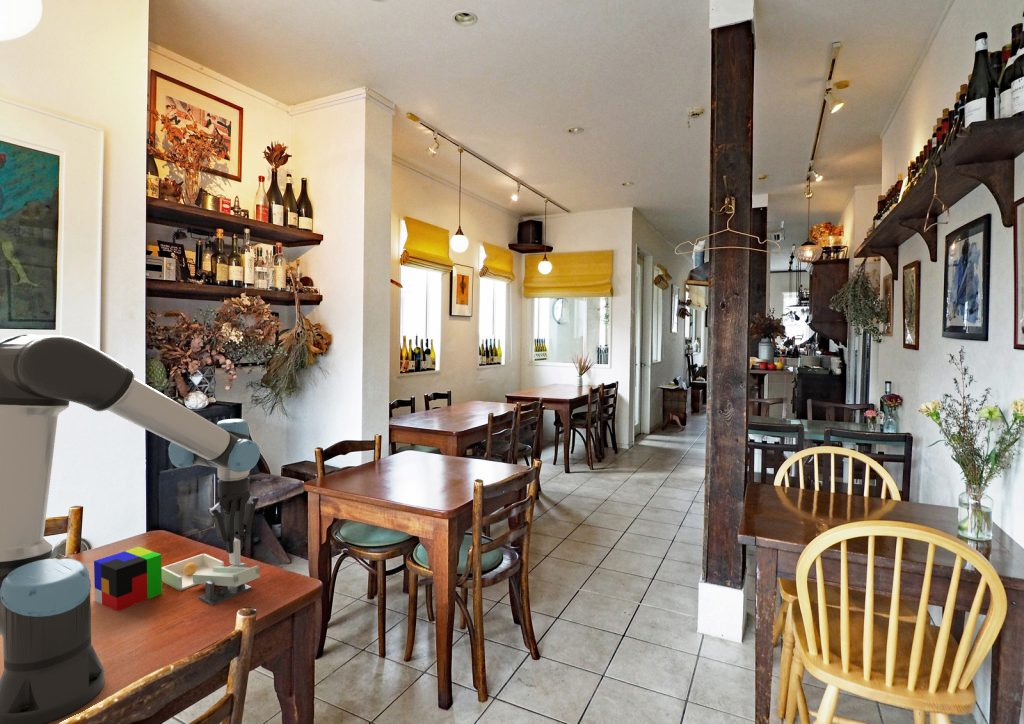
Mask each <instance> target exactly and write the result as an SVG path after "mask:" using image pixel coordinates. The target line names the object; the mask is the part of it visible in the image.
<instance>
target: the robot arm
mask: <svg viewBox="0 0 1024 724" xmlns="http://www.w3.org/2000/svg"><path fill="white" fill-rule="evenodd" d="M134 372H135V371H134V370H133V369H131V368H130V367H128V366H127V365H126V364H125V365H124V364H123V363H121V362H120V361H118V360H117V359H115V358H113V357H111V356H109V354H106V353H105V352H103V351H101V350H100V349H99V348H96V347H94V346H92V345H91V344H89V343H86V342H84V341H82V340H80V339H77V338H74V337H70V336H65V335H37V334H22V335H14V336H10V337H9V336H8V337H6V338H3V339H1V340H0V636H1V637H2V649H3V672H2V674H1V677H0V724H46V723H50V722H52V721H55V720H57V719H60V718H61V717H64V716H65V717H66V716H67V715H69V714H71V713H73V712H75V711H76V710H78V709H80V708H81V707H83V706H84V705H86V704H87V703H89V702H90V701H91V700H93V699H94V698H95V697H96V696H97V695H98V694H99V693H100V692H101V691H102V690H103V687H104V685H105V670H104V669H105V668H104V666H103V664H102V662H101V661H100V658H99V656H98V654H97V652H96V650H95V648H94V646H93V644H92V624H91V623H92V616H91V615H92V614H91V611H92V607H91V589H92V580H91V579H90V573H89V569H88V567H87V566H86V564H84V563H83V562H82V561H80V560H78V559H74V558H73V559H71V558H67V557H66V558H63V557H62V558H61V559H58V558H57V557H56V558H55V557H54V558H52V557H53V545H52V543H50V542H48V541H47V540H46V539H45V538H44V537H45V536H44V535H45V530H46V529H45V527H46V520H47V519H46V518H47V513H48V512H47V511H48V510H47V509H48V503H49V494H50V485H51V484H50V483H51V475H52V467H53V457H54V450H55V441H56V432H57V427H58V426H57V423H58V416H59V415H60V413H62V412H63V411H65V410H67V408H69V406H70V402H72V403H76V404H80V405H82V406H84V407H87V408H89V409H91V410H93V411H95V412H103V411H105V412H106V411H109V412H110V413H112V414H114V415H117V416H118V417H121V418H122V419H125V420H127V421H128V422H130V423H133V424H134V425H136V426H138V427H141V428H142V429H144V430H146V431H148V432H151V433H153V434H155V435H156V436H158V437H161V438H163V439H165V440H167V441H169V442H170V444H169V445H168V458H169V459H170V462H171V464H172V465H173V466H175V468H176V467H177V468H179V469H182V468H183V469H184V468H190V467H193V466H197V465H199V466H204V467H210V468H215V469H216V468H217V478H218V480H217V494H218V498H217V499H216V504H214V506H213V507H208V509H207V512H208V513H209V514H210V515H211V519H212V521H213V524H214V529H215V532H216V536H217V538H218V541H221V542H223V543H225V546H226V547H225V550H226V553H227V554H228V558H229V559H228V560H229V561H228V563H229V564H231V565H238V564H240V563H242V562H241V550H243V549H244V540H246V536H247V535H249V534H250V533H251V529H252V526H253V525H252V524H253V519H254V516H255V510H256V506H257V504H258V502H259V500H260V498H259V497H256V496H253V495H252V496H251V493H250V476H248V475H250V470H252V469H253V468H254V467H256V465H257V463H258V462H259V459H260V456H261V450H260V446H259V445H258V444H257V442H255V441H254V440H250V430H249V423H248V421H247V420H246V419H243V418H230V419H229V418H228V419H222V420H219V421H218V422H217V424H215V423H214V422H211V421H210V420H208V419H206V418H205V417H203V416H202V415H199V414H198V413H197V412H194V411H193V410H191V409H189V408H188V407H185V406H184V405H182V404H180V403H179V402H177V401H176V400H174V399H172V398H170V397H168V396H167V395H165V394H164V393H162V392H160V391H158V390H157V389H155V388H153V387H151V386H149V385H147V384H146V383H145V382H143V381H141V380H139V379H138V378H136V376H135V373H134ZM221 509H222V511H223V516H224V519H223V516H222V515H221V512H222V511H221Z"/></svg>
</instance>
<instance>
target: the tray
mask: <svg viewBox="0 0 1024 724" xmlns="http://www.w3.org/2000/svg"><path fill="white" fill-rule="evenodd" d="M188 563H195V564H196V565H197V571H196V572H195V573H194V574H209V573H212V572H213V567H215V566H222V567H225V564H224V563H225V562H224V560H221V559H218V558H216V557H214V556H212V555H210V554H208V553H207V554H206V553H205V552H204V553H201V554H198V555H195V556H192V557H188V558H185V559H183V560H180V561H177V562H174V563H171V564H168V565H164V566H161V567H162V583H164V584H165V585H168V586H170V587H172V588H174V589H175V590H177V591H179V592H182V591H184V590H186V589H190V588H191V587H195V586H197V585H198V584H195V583H193V578H192V575H186V574H185V573H184V571H183V569H184V567H185V565H186V564H188Z"/></svg>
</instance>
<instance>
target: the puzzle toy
mask: <svg viewBox="0 0 1024 724" xmlns="http://www.w3.org/2000/svg"><path fill="white" fill-rule="evenodd" d="M162 567H163V566H162V554H161V553H158V552H156V551H152V550H150V549H147V548H144V547H141V546H136V547H134V548H130V549H128V550H125V551H121V552H118V553H116V554H112V555H109V556H105V557H102V558H97V559H96V560H93V574H94V575H93V577H94V581H93V584H94V602H96V603H98V604H100V605H103V606H104V607H106V608H109V609H111V610H114V611H115V612H119V611H122V610H125V609H127V608H130V607H132V606H135V605H137V604H139V603H142V602H144V601H147V600H149V599H151V598H154V597H156V596H159V595H162V594H163V588H162V587H163V584H162V583H163V582H162Z"/></svg>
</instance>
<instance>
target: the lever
mask: <svg viewBox="0 0 1024 724" xmlns="http://www.w3.org/2000/svg"><path fill="white" fill-rule="evenodd" d="M260 577H261V574H260V568H259V565H254V566H252V567H248V565H247V563H246V562H241V563H240V564H238V565H233V564H231V565H229V566H224V567H222V566H215V567H213V572H212V573H209V574H193V575H192V578H193V583H195V584H197V585H205V582H207V581H212V582H214V586H222V587H224V586H233V587H237V586H239V585H242V584H244V583H245V584H246V583H248V582H251V581H254V580H255V579H260Z"/></svg>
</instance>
